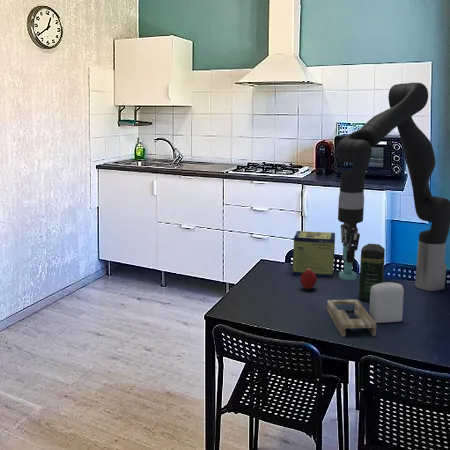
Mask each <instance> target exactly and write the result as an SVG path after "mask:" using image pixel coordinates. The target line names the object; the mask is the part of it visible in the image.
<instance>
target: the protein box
mask: <svg viewBox="0 0 450 450" xmlns="http://www.w3.org/2000/svg"><path fill="white" fill-rule="evenodd" d="M335 244H336V232H328V231H327V232H323V231H322V232H321V231H307V230H298V231H296V232H295V235H294V237H293V251H292V252H293V253H292V254H293V257H292V258H293V259H292V260H293V261H292V275H293V276H300V277H301V275H302V274H303V273H304V272H305V271H307V269H308V268H310V270H311V271H312V272H313V273H314V274H315V275H316V278H329V279H332V278H333V275H334V267H335V266H334V265H335V250H336V249H335V248H336V247H335V246H336V245H335Z"/></svg>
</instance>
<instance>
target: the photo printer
mask: <svg viewBox="0 0 450 450" xmlns="http://www.w3.org/2000/svg"><path fill="white" fill-rule="evenodd" d="M404 291H405V289H404V286H403V285H402V284H400V283H397V282H391V281H390V282H388V281H387V282H383V283H379V284H376V285H373V286H371V289H370V301H369V312H368V314H369V315H370V316H371V318H372V319H373V320H374V322H375V323H376V324H380V323H396V322H402V321H403V311H404V309H403V308H404V293H405V292H404Z"/></svg>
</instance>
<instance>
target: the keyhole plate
mask: <svg viewBox="0 0 450 450" xmlns="http://www.w3.org/2000/svg"><path fill="white" fill-rule="evenodd" d="M326 303H327V305H326V311H327V313H328V315H329V316H330V318H331V320H332V322H333V324H334V325H335V327H336V328H337V332H339V334H340V336H341V337H346V329H367V330H368V332H369V333H370V334H371V336H373V337H374V336H375V337H376V336H377V324H378V323H375V322H374V320H373V319H372V318H371V316H370V315H369V312H368V311H367V310H366V309H365V307H364V306H363V304H362V303H361V302H360V301H359V299H327V301H326ZM336 305H354V311H353V312H354V315H355V316H356V317H357V318H350V317H349V315H348V314H347V312H346V311H345V309H338V307H337V306H336Z"/></svg>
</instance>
